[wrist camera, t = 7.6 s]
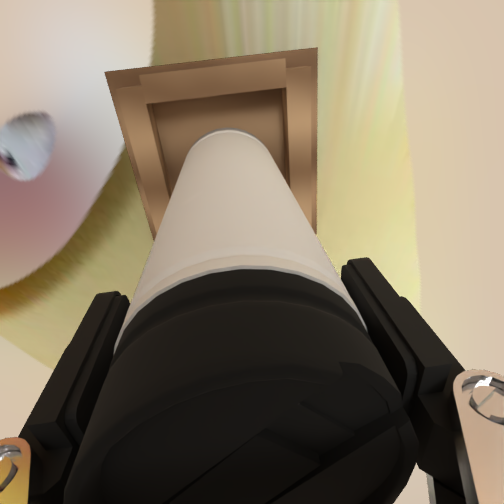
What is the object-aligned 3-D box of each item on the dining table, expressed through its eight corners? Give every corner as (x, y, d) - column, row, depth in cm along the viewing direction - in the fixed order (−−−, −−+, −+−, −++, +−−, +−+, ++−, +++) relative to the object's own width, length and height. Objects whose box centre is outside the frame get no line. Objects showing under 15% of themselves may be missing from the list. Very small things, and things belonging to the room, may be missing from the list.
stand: (113, 71, 22) (95, 72, 19) (309, 48, 23) (325, 45, 19) (161, 244, 29) (154, 266, 26) (310, 225, 30) (322, 244, 27)
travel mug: (162, 180, 22) (-45, 587, 5) (225, 104, 20) (254, 345, 3) (229, 233, 25) (250, 625, 7) (292, 171, 23) (523, 513, 5)
